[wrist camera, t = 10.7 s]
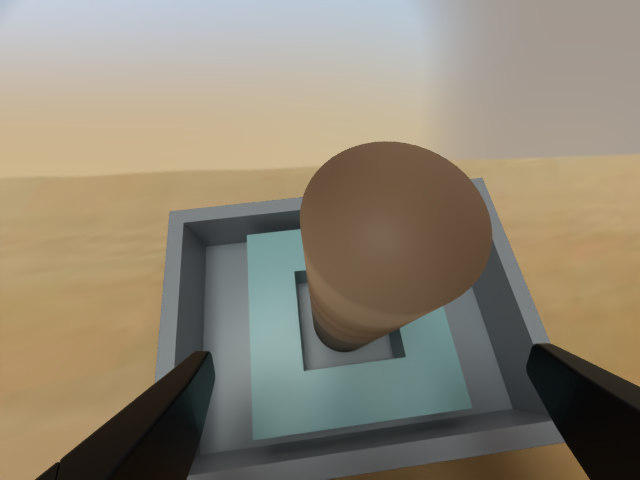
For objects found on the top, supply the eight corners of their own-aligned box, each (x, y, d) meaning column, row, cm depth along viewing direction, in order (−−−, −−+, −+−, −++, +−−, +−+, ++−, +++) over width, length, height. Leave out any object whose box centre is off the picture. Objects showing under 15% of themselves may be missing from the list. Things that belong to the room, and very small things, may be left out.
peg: (358, 364, 17) (458, 353, 5) (302, 332, 17) (263, 252, 5) (383, 307, 18) (512, 182, 6) (330, 280, 18) (349, 119, 7)
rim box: (527, 422, 16) (589, 438, 12) (187, 473, 15) (143, 508, 11) (453, 211, 21) (482, 177, 17) (197, 240, 20) (169, 211, 16)
